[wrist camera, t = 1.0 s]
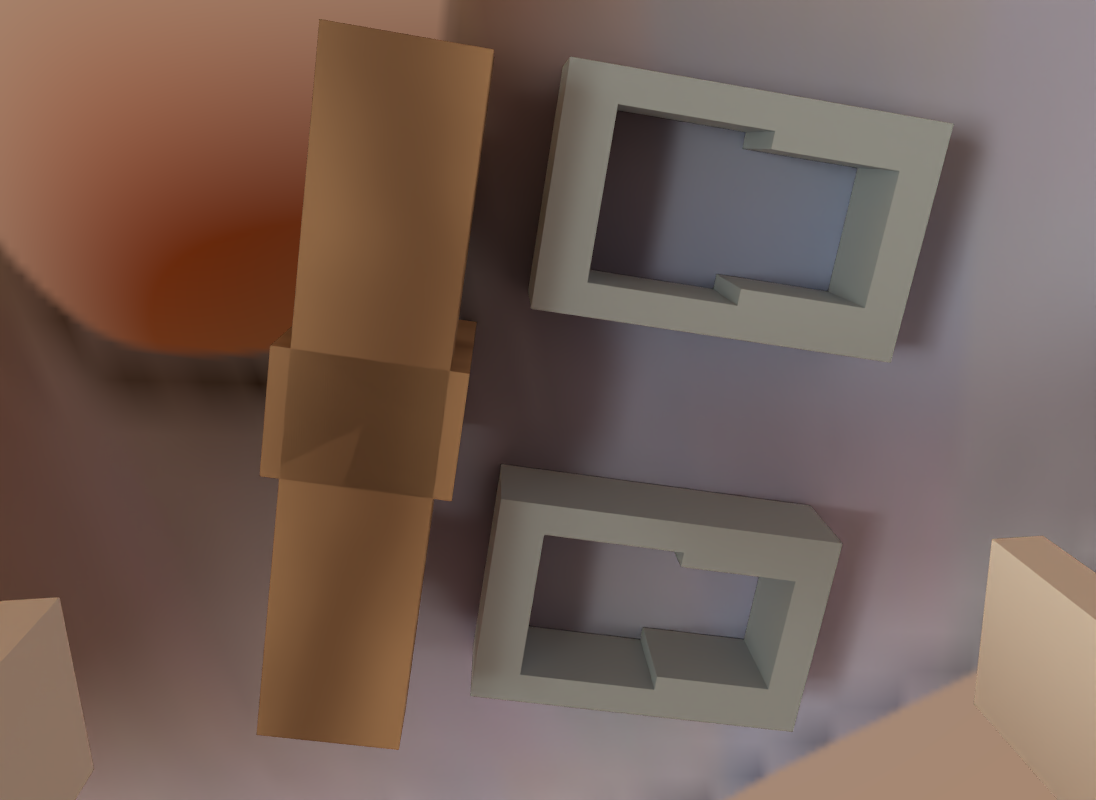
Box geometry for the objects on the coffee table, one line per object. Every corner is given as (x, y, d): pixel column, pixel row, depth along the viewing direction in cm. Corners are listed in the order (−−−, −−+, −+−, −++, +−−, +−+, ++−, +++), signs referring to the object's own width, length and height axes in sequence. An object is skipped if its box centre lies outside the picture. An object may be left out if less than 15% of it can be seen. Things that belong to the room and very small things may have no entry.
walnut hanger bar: (293, 610, 32) (238, 732, 26) (347, 46, 28) (297, 15, 21) (433, 626, 33) (416, 751, 26) (511, 74, 28) (515, 53, 21)
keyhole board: (473, 644, 33) (470, 696, 30) (562, 65, 28) (570, 56, 25) (766, 678, 34) (792, 732, 31) (905, 125, 29) (953, 123, 26)
